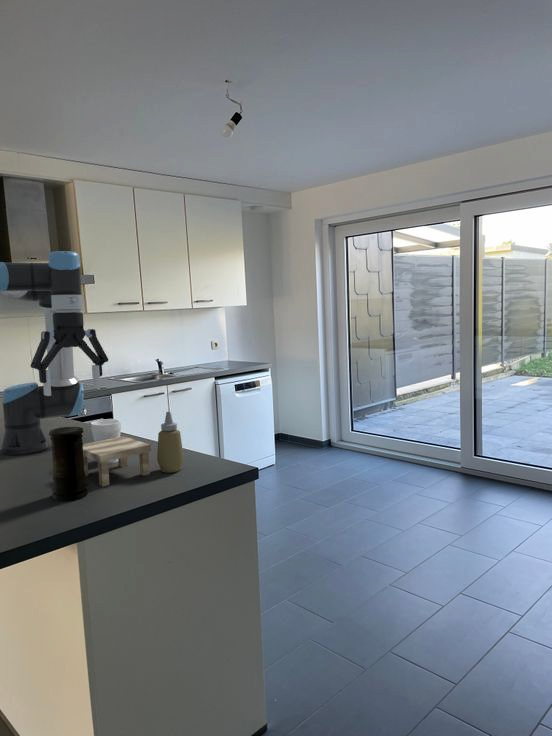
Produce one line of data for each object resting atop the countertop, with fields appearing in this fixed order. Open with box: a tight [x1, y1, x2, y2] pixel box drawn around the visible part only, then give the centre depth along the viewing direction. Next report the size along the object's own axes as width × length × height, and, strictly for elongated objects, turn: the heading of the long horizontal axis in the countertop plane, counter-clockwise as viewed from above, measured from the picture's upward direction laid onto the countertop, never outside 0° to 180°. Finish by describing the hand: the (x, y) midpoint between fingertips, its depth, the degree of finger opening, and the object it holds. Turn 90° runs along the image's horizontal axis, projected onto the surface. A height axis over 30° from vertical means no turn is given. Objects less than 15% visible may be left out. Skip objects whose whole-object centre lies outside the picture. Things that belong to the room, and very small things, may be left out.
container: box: [48, 426, 89, 502], centre depth 146 cm, size 9×9×18 cm
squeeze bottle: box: [156, 411, 185, 473], centre depth 166 cm, size 8×8×18 cm
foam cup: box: [90, 418, 123, 465], centre depth 178 cm, size 10×9×13 cm
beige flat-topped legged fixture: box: [83, 435, 152, 487], centre depth 164 cm, size 16×16×9 cm
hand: (73, 392), depth 146 cm, fingers open, 13 cm apart
